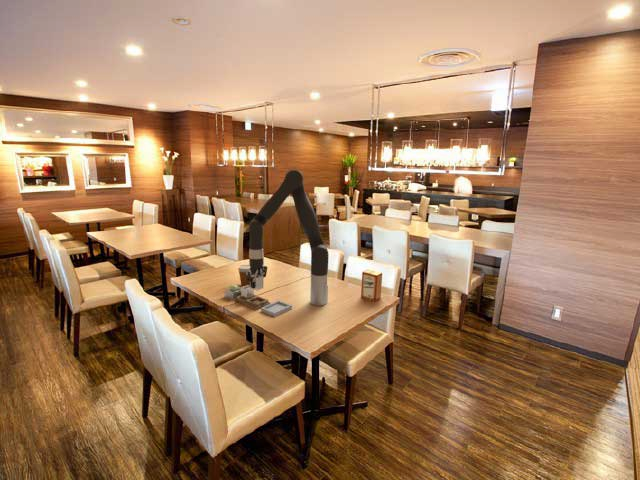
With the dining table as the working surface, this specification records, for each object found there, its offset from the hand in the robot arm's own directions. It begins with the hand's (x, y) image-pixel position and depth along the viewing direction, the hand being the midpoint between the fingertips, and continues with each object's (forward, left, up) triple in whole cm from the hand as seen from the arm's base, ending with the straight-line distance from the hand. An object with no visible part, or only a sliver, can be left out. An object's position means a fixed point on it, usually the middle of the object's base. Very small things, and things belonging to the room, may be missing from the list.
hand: (256, 286), depth 177 cm
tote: (-2, +13, -10) cm, 17 cm away
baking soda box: (-50, +43, -11) cm, 67 cm away
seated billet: (0, -8, -9) cm, 12 cm away
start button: (+1, -18, -8) cm, 20 cm away
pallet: (0, -4, -10) cm, 11 cm away
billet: (0, 0, -1) cm, 1 cm away
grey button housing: (+1, -18, -10) cm, 21 cm away
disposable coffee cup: (-16, -28, -11) cm, 34 cm away
